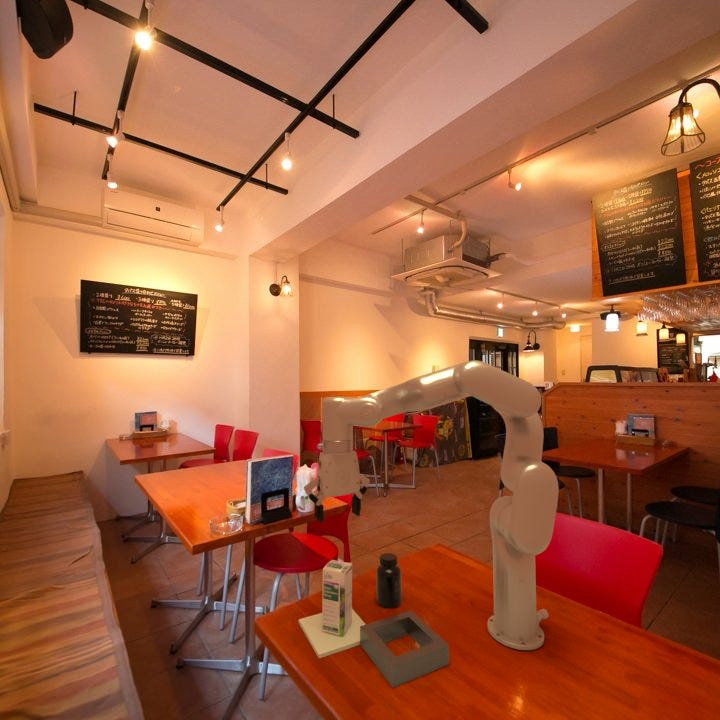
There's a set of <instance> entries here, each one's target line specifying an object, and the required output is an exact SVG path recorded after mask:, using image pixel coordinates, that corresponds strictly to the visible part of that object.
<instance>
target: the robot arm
mask: <svg viewBox="0 0 720 720" xmlns="http://www.w3.org/2000/svg"><path fill="white" fill-rule="evenodd" d="M468 397H473V398H475V399H476V400H479V401H481V402H483V403H485V404H487V405H489V406H491V407H492V408H493V409H494V411H496V412H497V413H498V414H499V415H500V416H501V418H502V419H503V422H504V424H505V434H506V435H505V443H504V449H503V455H502V461H501V466H500V467H501V468H500V480H501V482H502V484H503V485H504V486H505V488H507V489H508V490H509V491H510V492H512V495H504V496H501V497H499V498H497V499H495V501H494V502H493V503H492V504H491V507H490V511H489V527H490V534H491V540H492V541H491V542H492V574H493V575H492V577H493V578H492V579H493V582H492V583H493V615H491V616H490V617H489V618H488V620H487V621H486V622H487V623H486V624H487V626H486V627H487V631H488V633H489V634H490V636H491V637H492V638H493V639H494V640H495V641H497V642H499V644H501V645H504V646H506V647H508V648H510V649H515V650H520V651H533V650H537V649H539V648H540V647H542V646H543V644H544V642H545V633H544V631H543V629H542V628H541V627H540V623H541V621H542V620H545V619H547V618H549V616H550V615H549V612H548V610H547V609H545V608H541V609H539V610H537V589H536V587H537V583H536V580H537V578H536V576H537V575H536V556H537V555H539V554H540V555H541V553H543V552H544V551H546V550H547V548H548V546H549V545H550V542H551V541H552V537H553V534H554V527H555V521H556V513H557V507H558V501H559V489H560V488H559V482H558V479H557V475H556V474H555V472H554V470H553V469H552V468H551V467H550V465H548V464H546V463H544V462H543V461H542V458H543V457H542V456H543V448H544V446H543V445H544V437H545V436H544V426H543V425H544V424H543V422H542V419H541V416H540V413H538V412H539V410H540V407H541V405H542V396H541V393H540V391H539V390H538V389H537V387H536V386H535V385H533V384H532V383H530V381H529V382H528V381H527V380H525V379H522V378H520V377H518V376H515V375H514V374H511V373H509V372H507V371H504V370H502V369H500V368H498V367H496V366H494V365H491V364H490V363H487V362H485V361H482V360H477V359H475V360H474V359H473V360H468V361H464V362H460V363H457V364H454V365H451V366H447V367H445V368H442V369H439V370H438V369H437V370H436V371H435V370H434V371H433V372H429V373H426V374H423V375H420V376H416V377H414V378H413V377H412V378H411V379H407V380H406V381H404V382H401V383H399V384H397V385H393V386H389V387H388V388H384V389H381V390H377V391H374V392H371V393H368V394H365V395H362V396H360V397H359V396H358V397H348V396H328V397H325V398H324V399H323V401H322V439H321V442H320V443H317V445H316V447H317V449H318V450H321V451H322V452H320V454H319V456H318V463H317V470H316V471H317V473H316V478H314V479H313V480H311V481H310V482H309V483H307V484H305V485H304V486H303V490H304V492H305V494H306V495H307V498H308V499H309V500H311V502H312V503H313V504H314V518H315V519H316V520H317V522H319V523H320V524H321V523H323V522H324V505H323V504H322V503H324V500H325V499H326V498H333V497H340V496H347V495H348V496H349V495H351V494H352V495H353V496H351V512H352V514H354V516H357V517H359V516H361V509H362V499H363V497H364V494H365V493H366V492H367V491H368V487H369V485H370V482H371V479H370V478H369V477H366V476H364V475H362V474H360V465H359V459H358V455H357V451H355V450H354V431H353V430H354V429H353V428H354V427H355V426H356V427H364V428H371V427H372V428H373V427H374V426H376V425H377V426H378V424H380V422H381V421H382V420H384V419H386V418H390V417H393V416H396V415H400V414H405V413H409V412H423V411H428V410H432V409H434V408H437V407H441V406H444V405H446V404H450V403H453V402H457V401H458V400H462V399H465V398H468ZM314 488H316V491H317V493H316V494H315V495H314V493H313V489H314Z"/></svg>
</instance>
